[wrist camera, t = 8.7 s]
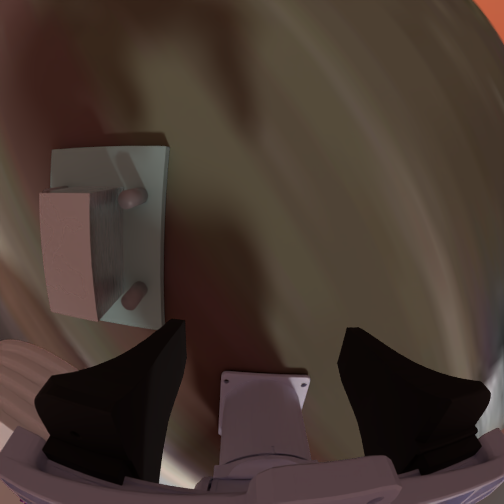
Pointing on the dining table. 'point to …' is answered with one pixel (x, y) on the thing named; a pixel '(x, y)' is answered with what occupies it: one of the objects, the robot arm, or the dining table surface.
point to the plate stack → (24, 385)
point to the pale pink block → (82, 249)
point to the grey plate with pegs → (128, 219)
